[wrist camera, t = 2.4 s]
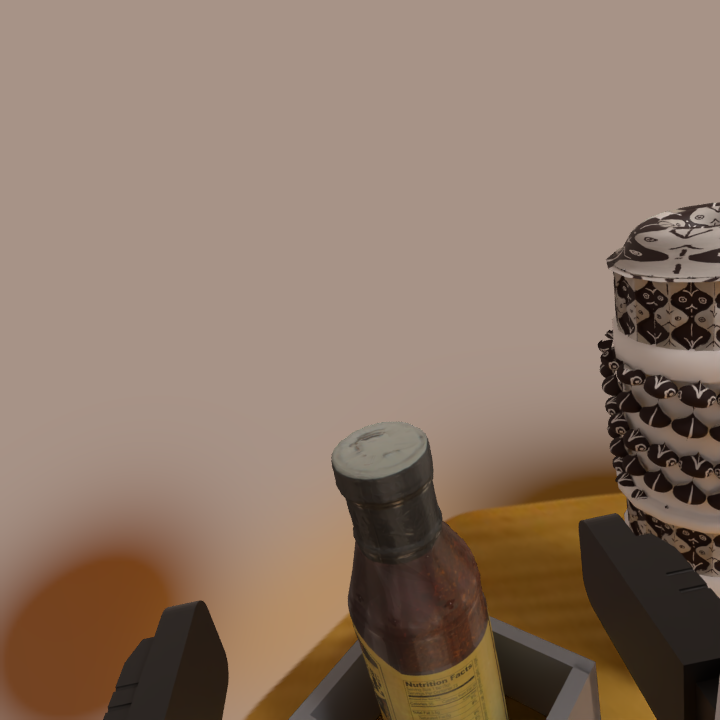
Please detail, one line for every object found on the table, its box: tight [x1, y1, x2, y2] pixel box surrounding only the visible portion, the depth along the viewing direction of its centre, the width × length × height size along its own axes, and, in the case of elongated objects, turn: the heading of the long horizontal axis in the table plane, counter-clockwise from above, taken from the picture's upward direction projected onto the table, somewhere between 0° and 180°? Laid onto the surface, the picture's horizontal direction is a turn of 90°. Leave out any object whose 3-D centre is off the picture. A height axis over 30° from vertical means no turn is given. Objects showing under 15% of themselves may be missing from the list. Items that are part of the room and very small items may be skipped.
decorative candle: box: [598, 203, 720, 598], centre depth 29 cm, size 9×9×25 cm
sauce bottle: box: [332, 422, 509, 720], centre depth 27 cm, size 6×6×20 cm
